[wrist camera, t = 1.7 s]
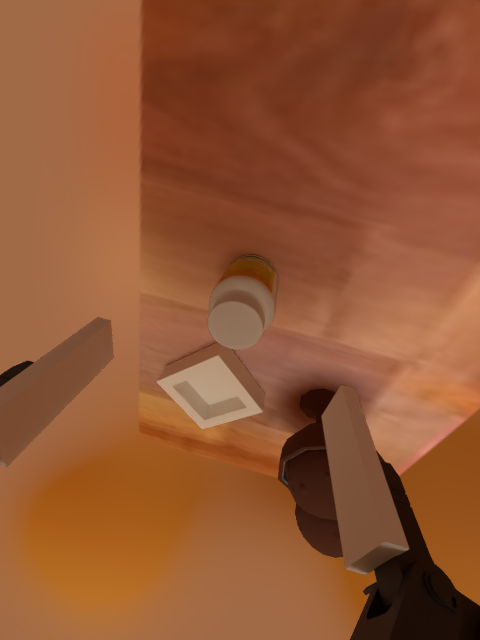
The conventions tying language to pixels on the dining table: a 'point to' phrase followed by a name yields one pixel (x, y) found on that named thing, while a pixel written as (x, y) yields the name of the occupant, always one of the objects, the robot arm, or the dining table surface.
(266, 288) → the supplement bottle
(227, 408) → the holder
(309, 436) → the ice cream bowl
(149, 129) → the dining table surface
